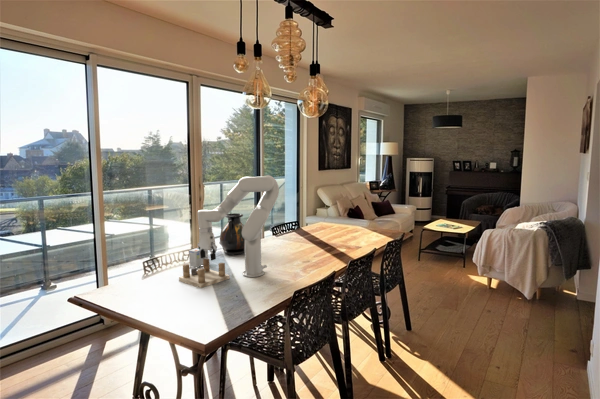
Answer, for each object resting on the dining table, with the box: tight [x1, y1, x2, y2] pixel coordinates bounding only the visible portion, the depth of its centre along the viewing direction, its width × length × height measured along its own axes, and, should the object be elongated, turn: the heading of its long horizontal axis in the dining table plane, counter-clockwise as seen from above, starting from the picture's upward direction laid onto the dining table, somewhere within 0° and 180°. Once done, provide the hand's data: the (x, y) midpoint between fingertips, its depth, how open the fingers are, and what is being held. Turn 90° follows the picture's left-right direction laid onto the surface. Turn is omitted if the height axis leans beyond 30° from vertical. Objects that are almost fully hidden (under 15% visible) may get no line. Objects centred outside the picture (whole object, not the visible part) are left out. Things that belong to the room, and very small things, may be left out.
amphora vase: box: [219, 212, 245, 256], centre depth 277 cm, size 22×22×28 cm
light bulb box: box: [188, 247, 209, 268], centre depth 248 cm, size 11×7×11 cm, turn 149°
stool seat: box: [178, 262, 231, 289], centre depth 219 cm, size 20×20×9 cm
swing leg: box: [190, 258, 211, 275], centre depth 225 cm, size 12×4×7 cm, turn 142°
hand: (208, 258), depth 228 cm, fingers open, 9 cm apart
